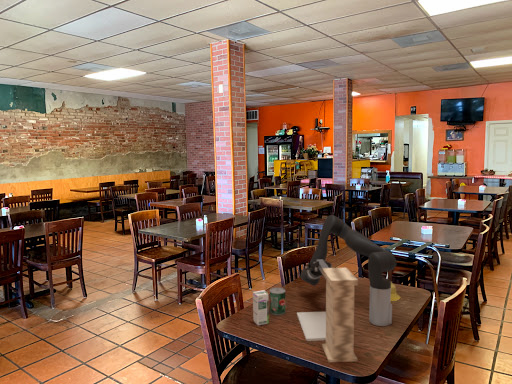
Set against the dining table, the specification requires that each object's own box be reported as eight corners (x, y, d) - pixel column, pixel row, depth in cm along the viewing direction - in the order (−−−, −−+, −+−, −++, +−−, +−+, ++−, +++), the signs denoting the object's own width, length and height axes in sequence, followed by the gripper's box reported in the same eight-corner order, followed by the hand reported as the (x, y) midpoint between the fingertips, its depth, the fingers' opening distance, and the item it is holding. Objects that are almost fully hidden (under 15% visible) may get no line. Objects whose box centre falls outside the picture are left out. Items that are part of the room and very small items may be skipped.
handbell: (397, 304, 194) (398, 257, 192) (373, 298, 202) (374, 253, 199) (404, 296, 204) (405, 251, 202) (381, 291, 212) (382, 248, 209)
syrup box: (257, 326, 172) (257, 295, 170) (253, 320, 178) (252, 291, 176) (269, 323, 174) (268, 293, 173) (264, 318, 180) (263, 289, 178)
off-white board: (333, 313, 184) (333, 311, 184) (348, 339, 159) (348, 337, 159) (296, 314, 184) (296, 312, 184) (306, 341, 158) (306, 338, 158)
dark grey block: (322, 265, 181) (322, 259, 180) (336, 284, 155) (336, 277, 155) (316, 265, 180) (316, 259, 180) (329, 284, 155) (329, 277, 155)
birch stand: (346, 341, 157) (347, 267, 153) (358, 361, 142) (359, 279, 138) (320, 342, 156) (320, 268, 153) (329, 363, 141) (329, 280, 138)
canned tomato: (286, 314, 183) (286, 293, 182) (270, 315, 183) (269, 293, 182) (284, 308, 191) (284, 287, 190) (269, 308, 191) (269, 287, 190)
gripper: (301, 263, 192) (306, 255, 176) (328, 262, 192) (336, 254, 176) (302, 278, 189) (308, 271, 173) (330, 277, 189) (338, 270, 174)
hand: (322, 263), depth 175 cm, fingers closed on dark grey block, 3 cm apart
